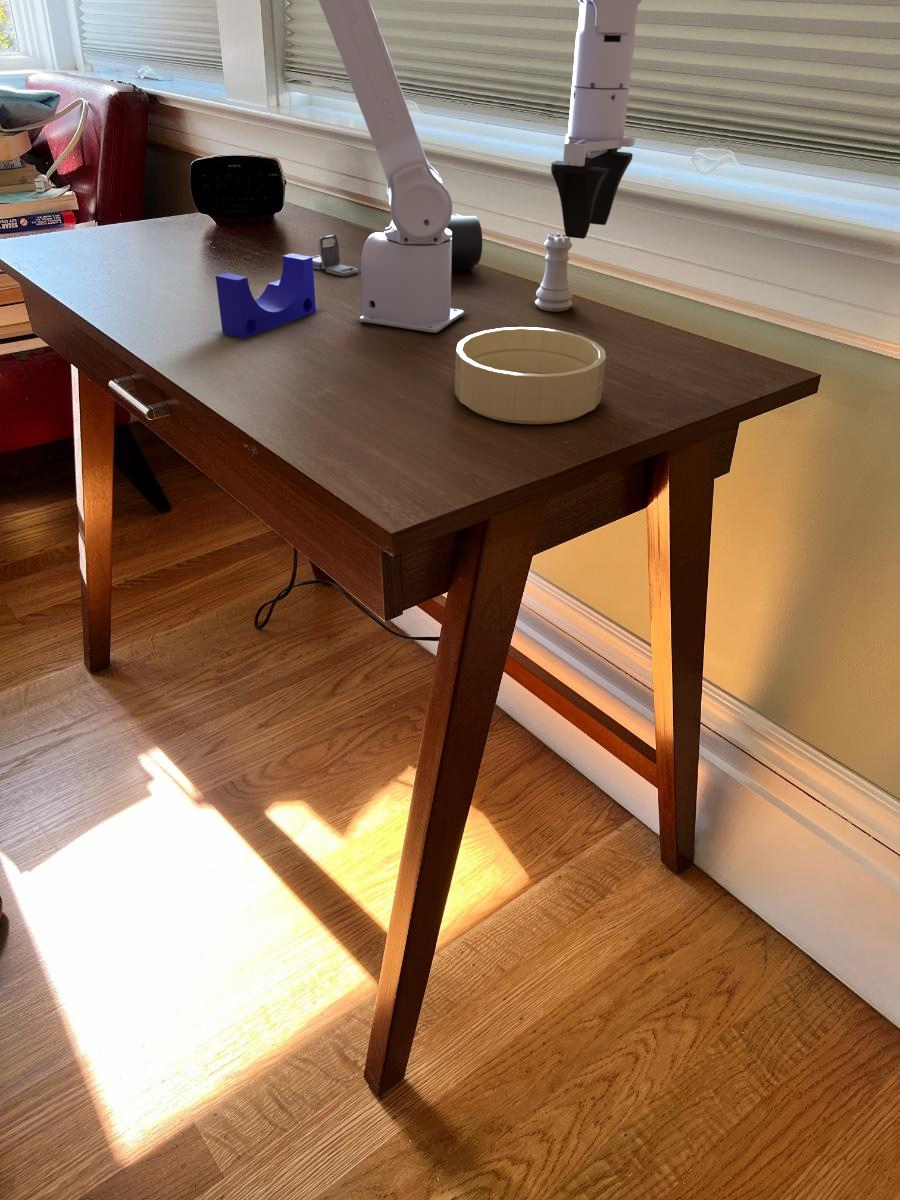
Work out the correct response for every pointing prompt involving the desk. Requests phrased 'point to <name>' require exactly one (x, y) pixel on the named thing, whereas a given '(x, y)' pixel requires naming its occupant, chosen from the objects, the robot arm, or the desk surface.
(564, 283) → the rook chess piece
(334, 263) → the strap clip
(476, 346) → the pan
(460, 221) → the end cap
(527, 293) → the desk surface
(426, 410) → the desk surface
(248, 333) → the blue pipe saddle bracket
